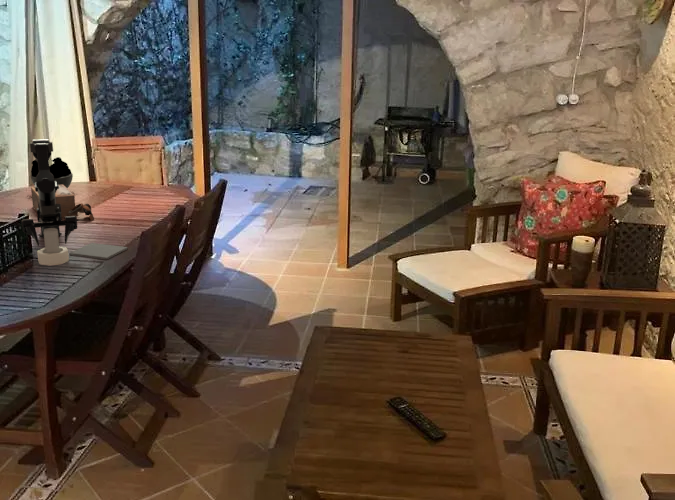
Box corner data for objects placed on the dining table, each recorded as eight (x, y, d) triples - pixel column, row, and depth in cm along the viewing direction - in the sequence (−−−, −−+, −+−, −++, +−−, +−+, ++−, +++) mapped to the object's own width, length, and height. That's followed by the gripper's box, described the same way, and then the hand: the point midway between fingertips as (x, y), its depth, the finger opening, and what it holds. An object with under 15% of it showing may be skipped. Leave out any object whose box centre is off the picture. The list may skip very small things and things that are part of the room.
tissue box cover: (76, 216, 310) (74, 195, 307) (42, 220, 303) (40, 198, 300) (64, 204, 331) (63, 184, 328) (33, 207, 324) (30, 187, 321)
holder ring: (32, 263, 246) (31, 252, 245) (50, 255, 255) (49, 245, 254) (56, 266, 244) (55, 256, 242) (74, 258, 253) (73, 248, 252)
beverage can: (49, 258, 252) (45, 227, 248) (62, 258, 252) (59, 227, 248) (44, 263, 247) (41, 231, 243) (58, 263, 247) (55, 231, 244)
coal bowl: (82, 193, 353) (79, 157, 348) (48, 200, 337) (44, 162, 331) (58, 188, 363) (54, 153, 358) (24, 194, 347) (20, 158, 342)
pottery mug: (91, 223, 301) (79, 208, 298) (74, 230, 304) (63, 216, 300) (100, 210, 311) (90, 195, 308) (84, 217, 314) (73, 203, 310)
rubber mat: (69, 254, 257) (69, 252, 256) (91, 244, 269) (91, 242, 269) (106, 259, 253) (106, 257, 252) (127, 249, 266) (127, 247, 265)
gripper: (18, 198, 242) (22, 235, 236) (74, 194, 250) (79, 231, 243) (21, 214, 251) (24, 250, 245) (75, 210, 259) (79, 246, 252)
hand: (52, 244), depth 246 cm, fingers open, 9 cm apart
